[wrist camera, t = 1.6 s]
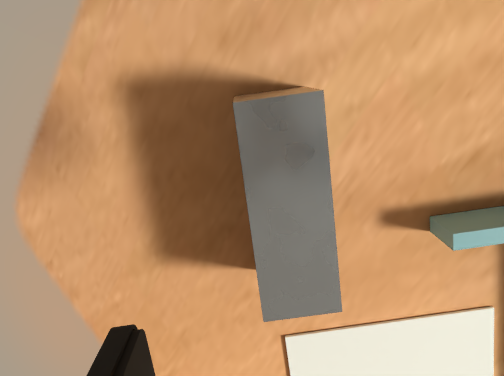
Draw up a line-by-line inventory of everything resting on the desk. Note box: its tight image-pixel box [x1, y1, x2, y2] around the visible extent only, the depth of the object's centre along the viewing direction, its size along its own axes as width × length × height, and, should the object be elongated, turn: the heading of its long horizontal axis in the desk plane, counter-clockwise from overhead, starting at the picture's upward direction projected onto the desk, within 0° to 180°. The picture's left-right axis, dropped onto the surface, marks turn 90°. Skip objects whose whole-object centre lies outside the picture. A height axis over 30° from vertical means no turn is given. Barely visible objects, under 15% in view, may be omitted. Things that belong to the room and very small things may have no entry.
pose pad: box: [285, 306, 494, 376], centre depth 29 cm, size 7×14×1 cm, turn 98°
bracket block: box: [233, 87, 342, 322], centre depth 23 cm, size 11×4×6 cm, turn 8°
